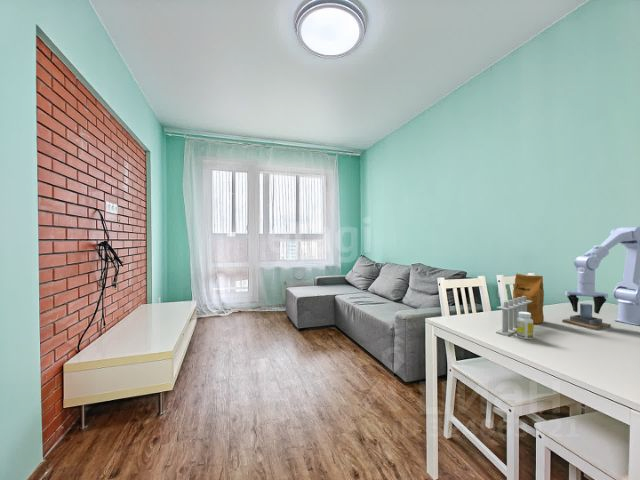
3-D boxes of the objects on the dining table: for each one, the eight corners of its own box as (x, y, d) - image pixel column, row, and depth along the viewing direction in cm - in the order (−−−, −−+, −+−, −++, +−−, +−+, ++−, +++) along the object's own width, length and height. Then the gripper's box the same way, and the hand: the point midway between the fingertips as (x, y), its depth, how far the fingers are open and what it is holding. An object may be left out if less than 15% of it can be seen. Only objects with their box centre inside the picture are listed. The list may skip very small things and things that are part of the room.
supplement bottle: (532, 336, 113) (532, 312, 113) (534, 340, 108) (534, 315, 108) (515, 333, 115) (516, 310, 115) (517, 338, 111) (517, 313, 111)
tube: (583, 320, 130) (583, 303, 130) (594, 322, 126) (594, 305, 126) (577, 321, 128) (578, 303, 128) (588, 323, 125) (589, 305, 124)
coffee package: (516, 315, 142) (517, 272, 141) (547, 321, 131) (547, 274, 131) (508, 318, 136) (508, 273, 136) (538, 325, 126) (539, 276, 125)
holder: (577, 318, 135) (577, 312, 135) (610, 326, 124) (610, 319, 124) (562, 321, 131) (562, 315, 130) (595, 330, 119) (595, 323, 119)
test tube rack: (507, 336, 113) (507, 304, 113) (495, 333, 116) (496, 301, 116) (532, 325, 127) (533, 296, 127) (521, 322, 130) (521, 294, 130)
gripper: (601, 281, 128) (601, 311, 128) (562, 280, 133) (562, 308, 133) (611, 284, 121) (610, 315, 122) (569, 282, 127) (569, 312, 127)
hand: (585, 312), depth 127 cm, fingers open, 7 cm apart
